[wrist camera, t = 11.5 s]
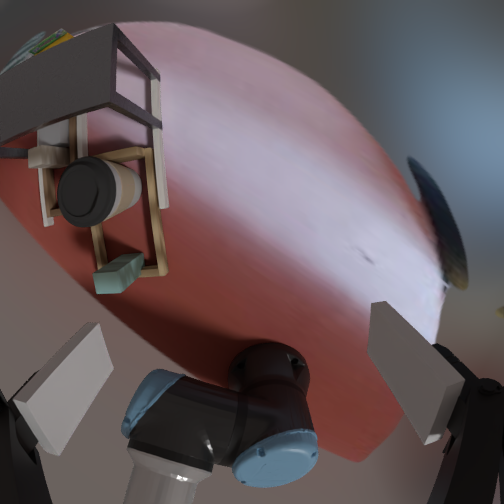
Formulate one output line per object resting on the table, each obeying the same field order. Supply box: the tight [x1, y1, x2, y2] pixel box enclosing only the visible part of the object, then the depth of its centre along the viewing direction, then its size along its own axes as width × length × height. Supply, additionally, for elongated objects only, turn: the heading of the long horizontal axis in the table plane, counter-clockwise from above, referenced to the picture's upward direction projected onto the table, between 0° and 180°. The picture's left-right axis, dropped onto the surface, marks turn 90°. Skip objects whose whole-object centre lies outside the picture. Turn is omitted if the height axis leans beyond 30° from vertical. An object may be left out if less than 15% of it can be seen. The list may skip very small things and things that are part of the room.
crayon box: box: [28, 29, 74, 56], centre depth 34 cm, size 7×3×12 cm, turn 107°
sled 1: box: [28, 116, 78, 218], centre depth 39 cm, size 20×8×9 cm, turn 5°
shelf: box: [0, 23, 162, 159], centre depth 33 cm, size 10×24×20 cm, turn 95°
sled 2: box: [91, 146, 169, 294], centre depth 41 cm, size 20×12×11 cm, turn 5°
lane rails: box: [37, 68, 169, 227], centre depth 43 cm, size 23×24×2 cm
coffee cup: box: [57, 156, 142, 227], centre depth 38 cm, size 9×9×15 cm
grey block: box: [39, 119, 70, 148], centre depth 40 cm, size 5×5×5 cm
